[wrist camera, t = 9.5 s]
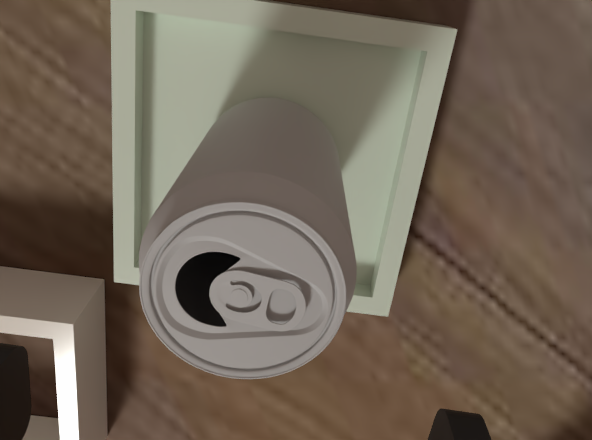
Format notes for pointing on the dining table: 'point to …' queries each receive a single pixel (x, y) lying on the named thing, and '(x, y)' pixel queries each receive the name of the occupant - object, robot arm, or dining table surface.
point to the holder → (63, 345)
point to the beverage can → (252, 245)
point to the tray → (285, 85)
